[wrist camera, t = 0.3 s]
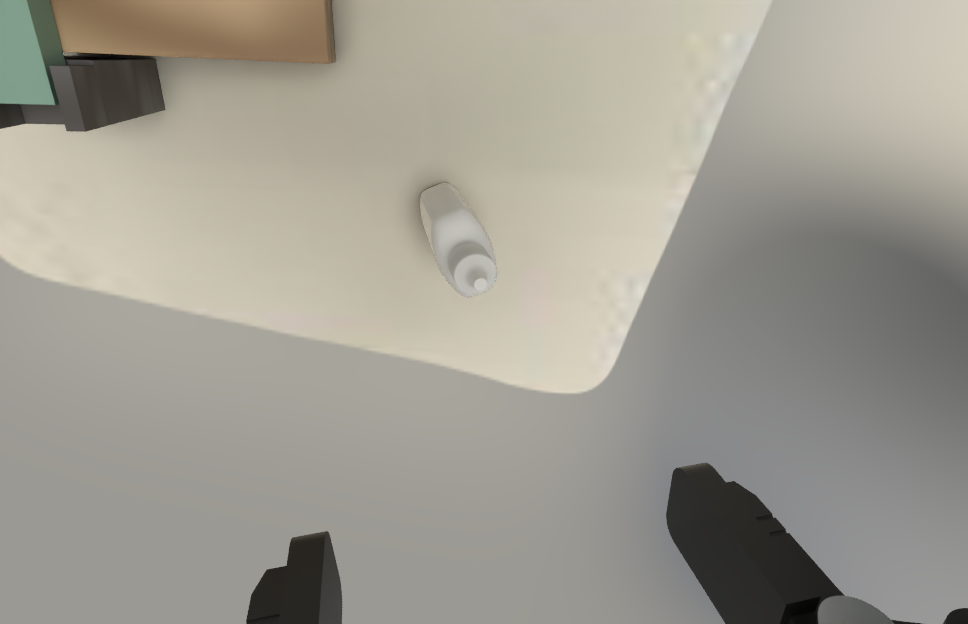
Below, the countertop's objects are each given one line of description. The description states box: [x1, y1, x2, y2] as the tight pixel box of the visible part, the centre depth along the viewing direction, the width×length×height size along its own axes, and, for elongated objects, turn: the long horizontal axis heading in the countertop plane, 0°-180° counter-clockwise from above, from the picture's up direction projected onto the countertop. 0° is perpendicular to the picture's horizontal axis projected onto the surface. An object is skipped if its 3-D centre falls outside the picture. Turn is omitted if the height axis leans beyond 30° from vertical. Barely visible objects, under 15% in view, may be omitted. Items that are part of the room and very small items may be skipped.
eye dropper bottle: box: [420, 183, 497, 297], centre depth 33 cm, size 4×6×12 cm
